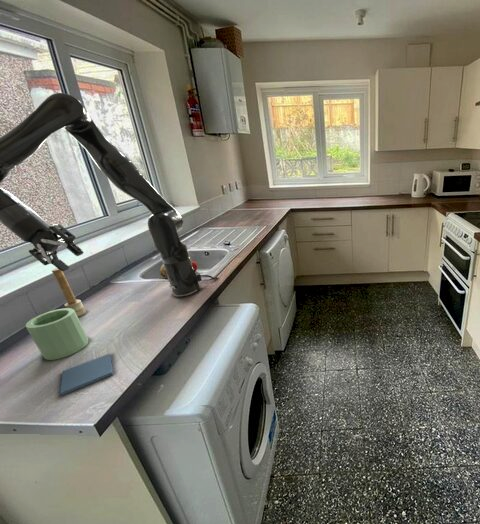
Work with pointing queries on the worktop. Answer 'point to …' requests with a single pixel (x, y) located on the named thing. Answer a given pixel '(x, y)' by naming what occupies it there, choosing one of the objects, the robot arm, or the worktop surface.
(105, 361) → the mat
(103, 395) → the worktop surface
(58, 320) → the green pot
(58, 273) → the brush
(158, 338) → the worktop surface
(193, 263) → the strawberry
